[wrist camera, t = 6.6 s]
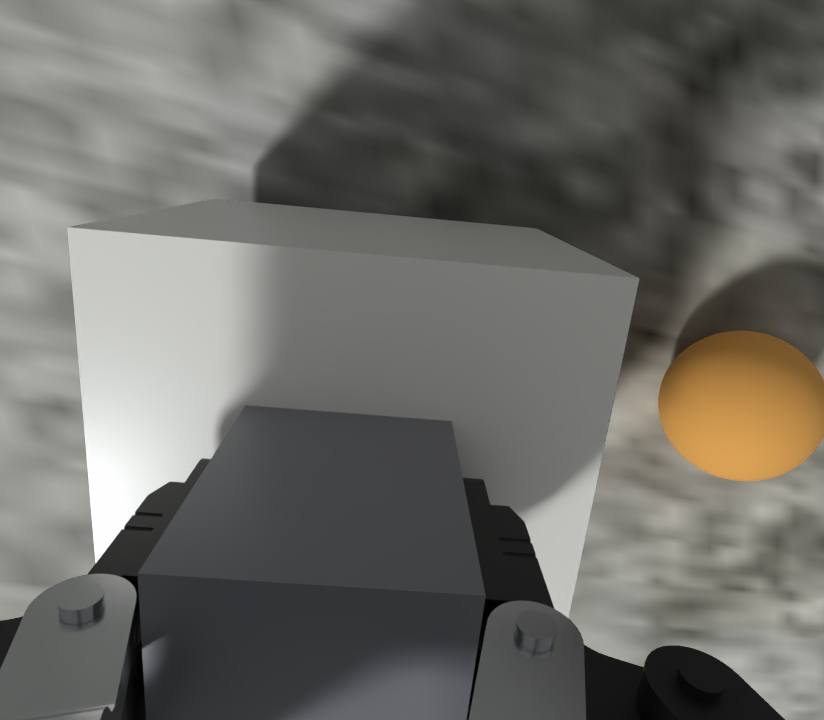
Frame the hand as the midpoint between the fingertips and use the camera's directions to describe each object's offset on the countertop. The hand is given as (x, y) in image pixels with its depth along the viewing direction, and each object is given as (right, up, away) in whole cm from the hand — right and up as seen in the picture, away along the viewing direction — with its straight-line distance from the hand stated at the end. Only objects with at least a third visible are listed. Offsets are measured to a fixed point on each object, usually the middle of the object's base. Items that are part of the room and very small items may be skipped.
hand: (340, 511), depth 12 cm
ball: (+12, +1, +8) cm, 15 cm away
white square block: (0, +3, +9) cm, 9 cm away
